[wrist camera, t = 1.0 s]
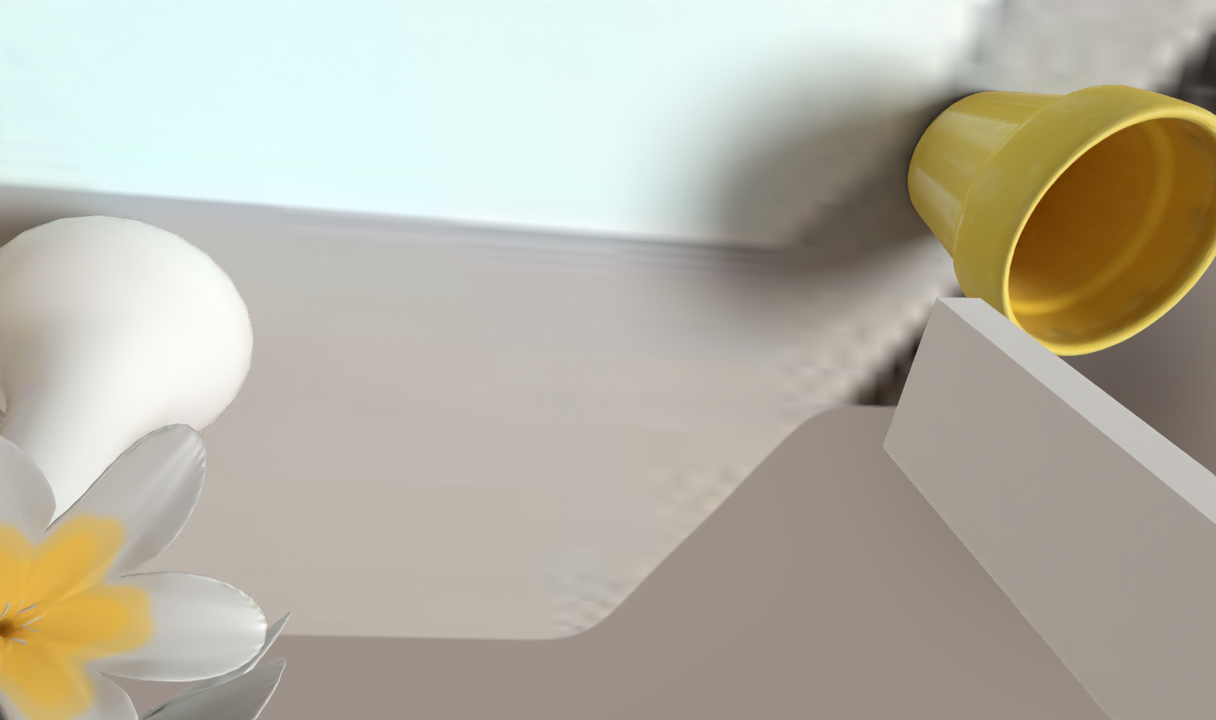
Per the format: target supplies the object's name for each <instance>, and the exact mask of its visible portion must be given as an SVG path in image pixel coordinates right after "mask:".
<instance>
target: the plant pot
mask: <svg viewBox="0 0 1216 720" xmlns="http://www.w3.org/2000/svg"><path fill="white" fill-rule="evenodd" d="M907 180H908V191H909V195H910V199H911V202H912V204H913V206H914V208H915V209H916V211H917V212H918V214H919V215H920V216H921V218H922V219H923V220H924V221H925V223H926V224H927V225H928V227H929V228H930V229H931V231H932V232H933V233H934V235H935V236H936V237H937V239H938V240H939V241H940V243H941V244H942V245H943V247H944V248H945V249H946V251H947V252H948V253H949V255H950V256H951V257H952V259H953V264H954V269H955V274H956V277H957V280H958V282H959V284H960V287H961V289H962V290H963V292H964V294H965V295H966V296H967V298H981V299H982V300H984V301H985V302H986V303H988V304H989V305H990V306H991V307H993V308H994V309H995V310H997V311H998V312H999V313H1001V314H1002V315H1003V316H1005V317H1006V318H1007V319H1009V320H1010V321H1011V322H1013V323H1014V324H1015V325H1017V326H1018V327H1019V328H1021V329H1022V330H1023V331H1025V332H1026V333H1027V334H1029V335H1030V336H1031V337H1032V338H1034V339H1035V340H1036V341H1038V342H1039V343H1040V344H1042V345H1043V346H1044V347H1046V348H1047V349H1048V350H1050V351H1051V352H1052V353H1054V354H1055V355H1059V356H1074V355H1082V354H1087V353H1092V352H1095V351H1099V350H1102V349H1105V348H1108V347H1110V346H1112V345H1115V344H1118V343H1120V342H1122V341H1124V340H1126V339H1128V338H1130V337H1132V336H1133V335H1135V334H1137V333H1138V332H1140V331H1141V330H1143V329H1144V328H1146V327H1147V326H1149V325H1150V324H1152V323H1153V322H1155V321H1156V320H1157V319H1158V318H1160V317H1161V316H1163V315H1164V314H1165V313H1166V312H1167V311H1169V310H1170V309H1171V308H1172V307H1173V306H1174V305H1175V304H1177V303H1178V302H1179V301H1180V300H1181V299H1182V297H1183V296H1184V295H1185V294H1186V293H1187V292H1188V291H1189V290H1190V289H1191V288H1192V287H1193V286H1194V285H1195V283H1196V282H1197V281H1198V280H1199V279H1200V277H1201V276H1202V275H1203V273H1204V272H1205V271H1206V269H1207V268H1208V267H1209V265H1210V264H1211V262H1212V260H1213V259H1214V257H1215V256H1216V116H1215V115H1214V114H1212V113H1211V112H1209V111H1207V110H1206V109H1203V108H1201V107H1198V106H1196V105H1193V104H1190V103H1187V102H1184V101H1181V100H1178V99H1175V98H1172V97H1169V96H1165V95H1162V94H1158V93H1154V92H1151V91H1147V90H1143V89H1138V88H1134V87H1129V86H1123V85H1102V86H1094V87H1089V88H1085V89H1082V90H1079V91H1076V92H1073V93H1070V94H1067V95H1056V94H1040V93H1024V92H1007V91H986V92H980V93H976V94H973V95H970V96H967V97H965V98H963V99H961V100H959V101H957V102H956V103H954V104H952V105H951V106H949V107H948V108H947V109H945V110H944V111H943V112H942V113H941V114H940V115H939V116H938V117H937V118H936V119H935V120H934V121H933V122H932V123H931V124H930V125H929V127H928V128H927V129H926V130H925V132H924V133H923V135H922V137H921V138H920V140H919V142H918V144H917V146H916V148H915V150H914V153H913V156H912V159H911V162H910V166H909V172H908V179H907Z"/></svg>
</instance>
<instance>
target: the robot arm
mask: <svg viewBox="0 0 1216 720" xmlns="http://www.w3.org/2000/svg"><path fill="white" fill-rule="evenodd" d="M883 448H884V449H885V451H886V452H887V453H888V454H889V455H890V457H891V458H892V459H893V460H894V461H895V463H896V464H897V465H898V466H899V467H900V469H901V470H902V471H903V472H904V473H905V474H906V476H907V477H908V478H909V479H910V480H911V481H912V483H913V484H914V485H915V486H916V488H917V489H918V490H919V491H920V492H921V494H922V495H923V496H924V497H925V498H926V500H927V501H928V502H929V503H930V504H931V506H932V507H933V508H934V509H935V510H936V511H937V513H938V514H939V515H940V516H941V517H942V519H943V520H944V521H945V522H946V523H947V525H948V526H949V527H950V528H951V529H952V531H953V532H954V533H955V534H956V535H957V537H958V538H959V539H960V540H961V541H962V543H963V544H964V545H965V546H966V547H967V549H968V550H969V551H970V552H971V553H972V554H973V556H974V557H975V558H976V559H977V560H978V562H979V563H980V564H981V565H982V566H983V568H984V569H985V570H986V571H987V572H988V574H989V575H990V576H991V577H992V578H993V580H994V581H995V582H996V583H997V584H998V585H999V587H1000V588H1001V589H1002V590H1003V591H1004V593H1005V594H1006V595H1007V596H1008V597H1009V599H1010V600H1011V601H1012V602H1013V603H1014V604H1015V606H1016V607H1017V608H1018V609H1019V611H1020V612H1021V613H1022V614H1023V615H1024V616H1025V618H1026V619H1027V620H1028V621H1029V622H1030V624H1031V625H1032V626H1033V627H1034V628H1035V630H1036V631H1037V632H1038V633H1039V634H1040V636H1041V637H1042V638H1043V639H1044V640H1045V642H1046V643H1047V644H1048V645H1049V646H1050V648H1051V649H1052V650H1053V651H1054V652H1055V654H1056V655H1057V656H1058V657H1059V658H1060V659H1061V661H1062V662H1063V663H1064V664H1065V665H1066V667H1067V668H1068V669H1069V670H1070V671H1071V673H1072V674H1073V675H1074V676H1075V677H1076V679H1077V680H1078V681H1079V682H1080V683H1081V684H1082V686H1083V687H1084V688H1085V689H1086V690H1087V692H1088V693H1089V694H1090V695H1091V696H1092V697H1093V699H1094V700H1095V701H1096V702H1097V704H1098V705H1099V706H1100V707H1101V708H1102V709H1103V711H1104V712H1105V713H1106V714H1107V715H1108V717H1109V718H1110V719H1111V720H1216V476H1215V475H1214V474H1212V473H1211V472H1210V471H1208V470H1207V469H1206V468H1204V467H1203V466H1202V465H1200V464H1199V463H1198V462H1196V461H1195V460H1194V459H1192V458H1191V457H1190V456H1189V455H1187V454H1186V453H1185V452H1183V451H1182V450H1181V449H1179V448H1178V447H1177V446H1175V445H1174V444H1173V443H1171V442H1170V441H1169V440H1167V439H1166V438H1165V437H1163V436H1162V435H1161V434H1159V433H1158V432H1157V431H1155V430H1154V429H1153V428H1152V427H1150V426H1149V425H1148V424H1146V423H1145V422H1144V421H1142V420H1141V419H1140V418H1138V417H1137V416H1136V415H1134V414H1133V413H1132V412H1130V411H1129V410H1128V409H1126V408H1125V407H1124V406H1122V405H1121V404H1120V403H1118V402H1117V401H1116V400H1114V399H1113V398H1112V397H1111V396H1109V395H1108V394H1106V393H1105V392H1104V391H1103V390H1101V389H1100V388H1099V387H1097V386H1096V385H1094V384H1093V383H1092V382H1091V381H1089V380H1088V379H1087V378H1085V377H1084V376H1083V375H1081V374H1080V373H1079V372H1077V371H1076V370H1075V369H1073V368H1072V367H1071V366H1070V365H1068V364H1067V363H1066V362H1064V361H1063V360H1062V359H1060V358H1059V357H1058V356H1056V355H1055V354H1054V353H1052V352H1051V351H1050V350H1048V349H1047V348H1046V347H1044V346H1043V345H1042V344H1040V343H1039V342H1038V341H1036V340H1035V339H1034V338H1032V337H1031V336H1030V335H1029V334H1027V333H1026V332H1025V331H1023V330H1022V329H1021V328H1019V327H1018V326H1017V325H1015V324H1014V323H1013V322H1011V321H1010V320H1009V319H1007V318H1006V317H1005V316H1003V315H1002V314H1001V313H999V312H998V311H997V310H995V309H994V308H993V307H991V306H990V305H989V304H988V303H986V302H985V301H984V300H982V299H981V298H943V297H937V298H936V301H935V304H934V307H933V309H932V312H931V315H930V318H929V320H928V323H927V326H926V329H925V331H924V334H923V337H922V340H921V342H920V345H919V348H918V351H917V353H916V356H915V359H914V362H913V364H912V367H911V370H910V373H909V376H908V378H907V381H906V384H905V387H904V389H903V392H902V395H901V398H900V400H899V403H898V406H897V409H896V411H895V414H894V417H893V420H892V422H891V425H890V428H889V431H888V433H887V436H886V439H885V442H884V445H883Z"/></svg>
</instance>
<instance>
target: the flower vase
mask: <svg viewBox="0 0 1216 720" xmlns="http://www.w3.org/2000/svg"><path fill="white" fill-rule="evenodd" d="M253 336H254V334H253V330H252V326H251V322H250V317H249V313H248V309H247V306H246V303H245V302H244V300H243V298H242V297H241V295H240V293H239V291H238V290H237V288H236V286H235V285H234V283H233V281H232V279H231V278H230V276H229V275H228V274H227V273H226V272H225V271H224V270H223V269H222V268H221V267H220V266H219V265H218V264H217V263H216V262H215V261H214V260H213V259H212V258H211V257H210V256H209V255H208V254H207V253H206V252H204V251H202V250H201V249H199V248H198V247H196V246H194V245H193V244H191V243H190V242H188V241H186V240H185V239H183V238H182V237H180V236H179V235H177V234H175V233H172V232H170V231H167V230H164V229H162V228H159V227H156V226H153V225H151V224H148V223H145V222H142V221H140V220H133V219H126V218H119V217H112V216H105V215H95V216H82V217H69V218H61V219H58V220H55V221H52V222H49V223H46V224H43V225H40V226H37V227H34V228H31V229H28V230H25V231H24V232H22V233H21V234H19V235H18V236H16V237H15V238H14V239H12V240H11V241H9V242H8V243H6V244H5V245H3V246H2V247H1V248H0V410H1V411H2V412H3V413H4V414H5V416H4V420H3V422H2V424H1V427H0V720H255V719H256V718H257V717H258V716H259V714H260V712H261V710H262V709H263V708H264V706H265V705H266V704H267V702H268V700H269V698H270V696H271V695H272V694H273V693H274V690H275V688H276V686H277V685H278V683H279V682H280V676H281V673H282V671H283V669H284V668H285V666H286V665H285V662H286V661H285V660H284V658H277V659H274V660H272V661H270V662H268V663H266V664H263V665H261V666H260V667H257V668H255V669H253V668H254V667H255V665H256V663H257V662H258V660H259V659H260V658H261V657H262V656H263V655H264V654H265V652H266V651H267V650H268V648H269V647H270V646H271V645H272V644H273V642H274V640H275V639H276V637H277V636H278V635H279V634H280V632H281V630H282V628H283V627H284V626H285V624H286V621H287V620H288V619H289V617H290V615H291V612H289V613H288V614H286V615H285V616H284V617H283V618H281V619H280V620H279V621H278V622H277V623H275V624H274V625H273V626H271V627H270V628H269V629H268V630H267V626H268V625H267V622H266V620H265V615H264V613H263V612H262V611H261V609H260V607H259V605H258V604H257V603H255V602H254V601H253V599H252V598H251V597H250V596H248V595H247V594H245V593H244V592H242V591H241V590H240V589H238V588H236V587H234V586H231V585H229V584H228V583H226V582H224V581H220V580H216V579H213V578H210V577H207V576H200V575H195V574H190V573H175V572H155V573H138V574H132V575H126V574H128V573H130V572H132V571H134V570H136V569H138V568H140V567H141V566H143V565H145V564H147V563H148V562H150V561H152V560H153V559H155V558H157V557H158V556H159V555H161V554H162V553H163V552H164V551H165V550H166V549H167V547H168V546H169V545H170V544H171V543H172V542H173V541H174V540H175V539H176V538H177V536H178V535H179V533H180V532H181V530H182V529H183V527H184V526H185V525H186V523H187V522H188V520H189V518H190V516H191V514H192V512H193V510H194V508H195V507H196V505H197V503H198V500H199V497H200V494H201V491H202V489H203V485H204V480H205V476H206V472H207V452H206V444H205V442H204V440H203V437H202V435H201V434H199V433H198V432H199V431H200V430H202V429H204V428H205V427H207V426H208V425H210V424H211V423H213V422H214V421H215V420H216V419H217V418H218V417H219V416H220V415H221V414H222V412H223V411H224V410H225V409H226V408H227V407H228V406H229V404H230V403H231V402H232V401H233V400H234V399H235V397H236V396H237V395H238V394H239V392H240V390H241V388H242V385H243V383H244V381H245V378H246V376H247V374H248V371H249V369H250V367H251V363H252V350H253ZM124 575H126V576H124ZM252 669H253V670H252ZM101 673H102V674H106V675H110V676H114V677H123V678H131V679H136V680H143V681H160V682H176V681H177V682H189V681H194V680H199V681H197V682H196V683H194V684H193V685H191V686H190V687H188V688H187V689H185V690H184V691H182V692H180V693H179V694H177V695H175V696H174V697H172V698H171V699H169V700H167V701H165V702H163V703H162V704H160V705H158V706H157V707H155V708H154V709H151V710H149V711H148V712H147V713H145V714H143V715H142V716H140V717H138V715H137V713H136V710H135V708H134V706H133V703H132V701H131V699H130V697H129V696H128V694H127V693H126V692H125V691H124V690H122V689H121V688H120V687H119V686H118V685H116V684H115V683H114V682H113V681H111V680H110V679H109V678H107V677H106V676H104V675H102V674H101Z"/></svg>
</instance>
